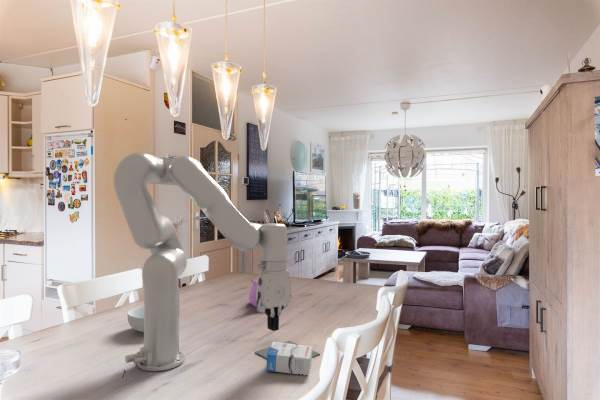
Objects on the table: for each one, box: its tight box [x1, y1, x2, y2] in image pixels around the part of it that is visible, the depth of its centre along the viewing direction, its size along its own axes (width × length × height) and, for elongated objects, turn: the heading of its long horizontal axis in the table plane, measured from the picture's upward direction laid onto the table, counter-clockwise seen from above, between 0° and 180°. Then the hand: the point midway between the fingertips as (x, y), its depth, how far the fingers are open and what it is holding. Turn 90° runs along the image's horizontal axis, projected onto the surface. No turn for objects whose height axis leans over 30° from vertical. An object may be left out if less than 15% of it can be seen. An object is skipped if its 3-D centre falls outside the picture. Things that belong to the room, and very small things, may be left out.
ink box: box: [265, 341, 314, 376], centre depth 108 cm, size 8×5×12 cm
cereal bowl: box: [127, 305, 144, 334], centre depth 137 cm, size 17×17×7 cm
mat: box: [254, 340, 321, 360], centre depth 117 cm, size 14×14×1 cm
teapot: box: [248, 278, 258, 309], centre depth 172 cm, size 25×18×14 cm
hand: (273, 329), depth 112 cm, fingers closed
